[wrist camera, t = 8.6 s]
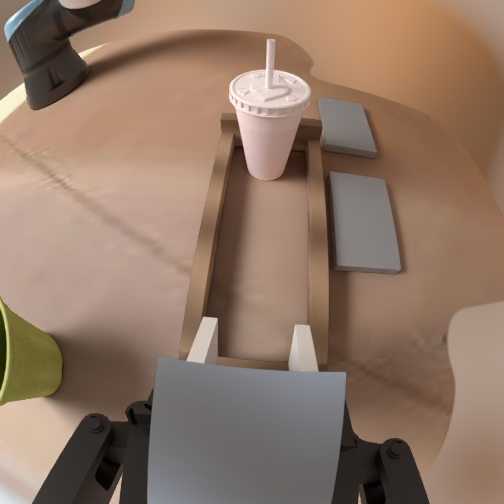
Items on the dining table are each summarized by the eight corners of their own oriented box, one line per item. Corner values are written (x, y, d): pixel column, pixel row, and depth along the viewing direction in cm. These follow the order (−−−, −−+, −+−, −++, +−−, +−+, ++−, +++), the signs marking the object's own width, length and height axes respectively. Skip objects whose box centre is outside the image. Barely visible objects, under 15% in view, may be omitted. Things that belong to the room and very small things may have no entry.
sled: (224, 138, 29) (214, 12, 16) (316, 145, 29) (341, 21, 15) (178, 417, 17) (46, 467, 4) (316, 428, 17) (433, 501, 3)
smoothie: (226, 184, 26) (212, 49, 14) (243, 141, 29) (239, 23, 16) (292, 197, 26) (317, 60, 13) (301, 152, 28) (321, 32, 16)
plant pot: (97, 376, 18) (27, 366, 11) (42, 430, 15) (-24, 433, 8) (49, 297, 21) (-11, 259, 13) (3, 352, 18) (-57, 332, 10)
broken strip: (317, 102, 33) (318, 96, 32) (359, 109, 33) (361, 103, 32) (333, 270, 23) (336, 265, 22) (396, 274, 22) (401, 269, 21)
